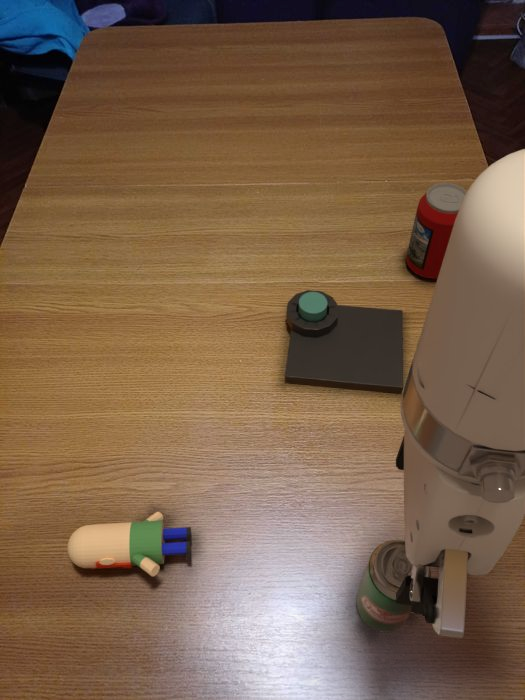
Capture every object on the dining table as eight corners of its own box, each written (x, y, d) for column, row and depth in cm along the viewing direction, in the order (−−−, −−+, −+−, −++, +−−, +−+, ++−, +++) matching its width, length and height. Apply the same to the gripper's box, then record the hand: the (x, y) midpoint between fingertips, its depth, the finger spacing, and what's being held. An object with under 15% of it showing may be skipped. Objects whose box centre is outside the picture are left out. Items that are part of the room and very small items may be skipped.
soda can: (348, 621, 58) (362, 584, 49) (363, 570, 61) (379, 526, 51) (401, 642, 57) (425, 608, 48) (414, 589, 60) (439, 548, 50)
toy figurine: (192, 529, 66) (78, 535, 65) (190, 496, 64) (72, 503, 63) (191, 590, 59) (63, 599, 58) (188, 555, 57) (56, 564, 56)
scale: (400, 312, 81) (404, 297, 79) (401, 393, 73) (405, 379, 71) (289, 303, 82) (289, 288, 80) (278, 382, 75) (278, 368, 72)
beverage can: (406, 245, 88) (422, 176, 79) (454, 251, 88) (476, 182, 78) (403, 279, 85) (419, 211, 75) (453, 285, 84) (476, 217, 74)
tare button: (327, 301, 79) (328, 292, 78) (325, 323, 77) (326, 314, 75) (299, 299, 79) (300, 290, 78) (297, 321, 77) (297, 312, 76)
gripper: (602, 596, 24) (483, 674, 38) (540, 275, 34) (464, 428, 48) (407, 572, 25) (360, 657, 38) (403, 264, 35) (367, 418, 49)
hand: (418, 530), depth 43 cm, fingers open, 9 cm apart
